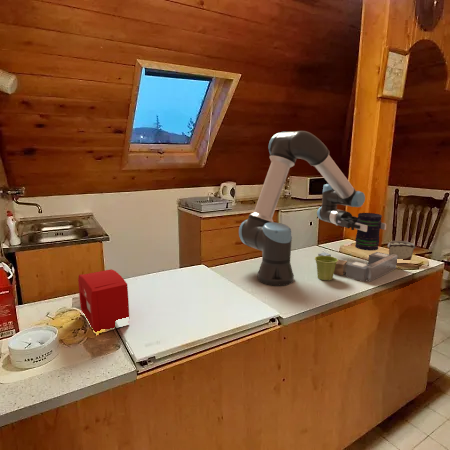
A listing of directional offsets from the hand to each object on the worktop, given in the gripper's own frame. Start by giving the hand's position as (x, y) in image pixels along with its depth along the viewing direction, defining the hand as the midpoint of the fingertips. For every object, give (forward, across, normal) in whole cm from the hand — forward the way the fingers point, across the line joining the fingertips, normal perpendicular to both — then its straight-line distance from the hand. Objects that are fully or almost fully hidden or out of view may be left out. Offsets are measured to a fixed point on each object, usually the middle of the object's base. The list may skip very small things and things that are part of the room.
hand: (376, 227), depth 148 cm
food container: (-8, -24, -21) cm, 33 cm away
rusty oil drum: (-4, 0, -10) cm, 11 cm away
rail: (+2, -3, -21) cm, 21 cm away
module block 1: (+1, +9, -21) cm, 23 cm away
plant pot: (-3, +23, -21) cm, 31 cm away
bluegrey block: (-16, +14, -21) cm, 30 cm away
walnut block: (-7, +13, -21) cm, 25 cm away
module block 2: (-6, -11, -21) cm, 24 cm away
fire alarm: (+2, +112, -21) cm, 114 cm away
